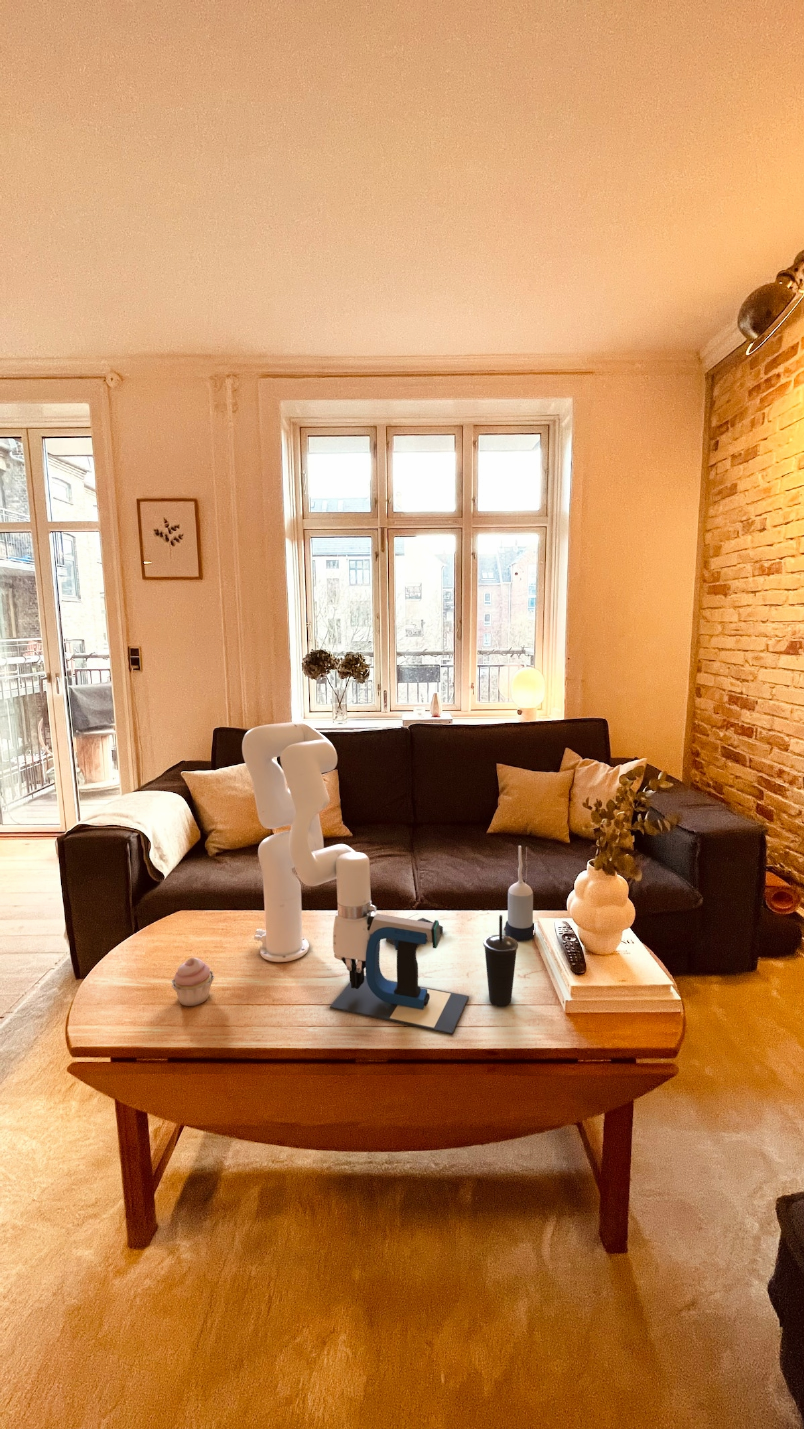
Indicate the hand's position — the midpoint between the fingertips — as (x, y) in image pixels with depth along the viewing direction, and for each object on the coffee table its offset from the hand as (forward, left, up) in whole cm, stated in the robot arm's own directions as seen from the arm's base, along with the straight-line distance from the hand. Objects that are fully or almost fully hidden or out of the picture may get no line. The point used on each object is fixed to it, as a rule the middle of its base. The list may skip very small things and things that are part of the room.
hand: (357, 985), depth 137 cm
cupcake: (-35, -14, -3) cm, 37 cm away
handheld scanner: (+11, +1, -2) cm, 11 cm away
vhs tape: (+3, +30, -3) cm, 31 cm away
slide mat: (+10, 0, -2) cm, 11 cm away
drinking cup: (+31, +8, -3) cm, 32 cm away
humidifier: (+30, +41, -3) cm, 51 cm away
